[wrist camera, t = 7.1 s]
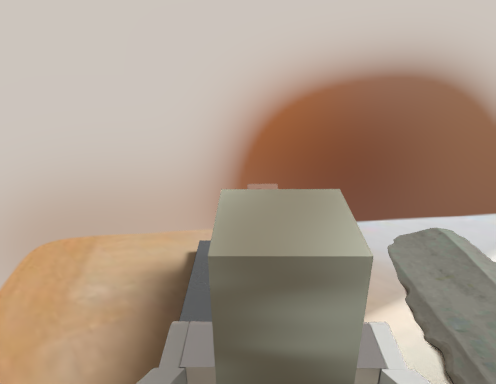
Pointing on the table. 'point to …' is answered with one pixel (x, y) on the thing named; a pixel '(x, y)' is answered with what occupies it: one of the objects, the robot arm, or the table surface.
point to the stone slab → (451, 299)
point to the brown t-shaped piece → (287, 287)
